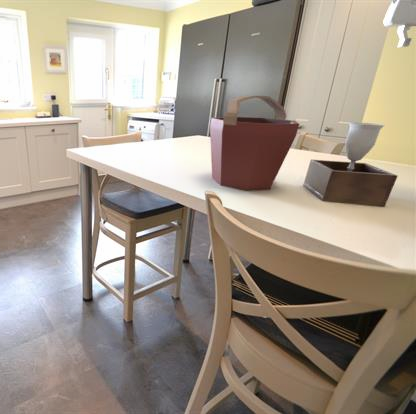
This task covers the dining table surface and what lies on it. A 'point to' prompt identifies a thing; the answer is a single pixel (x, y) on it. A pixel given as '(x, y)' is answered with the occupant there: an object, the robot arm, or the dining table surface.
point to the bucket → (250, 146)
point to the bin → (349, 182)
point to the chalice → (360, 140)
